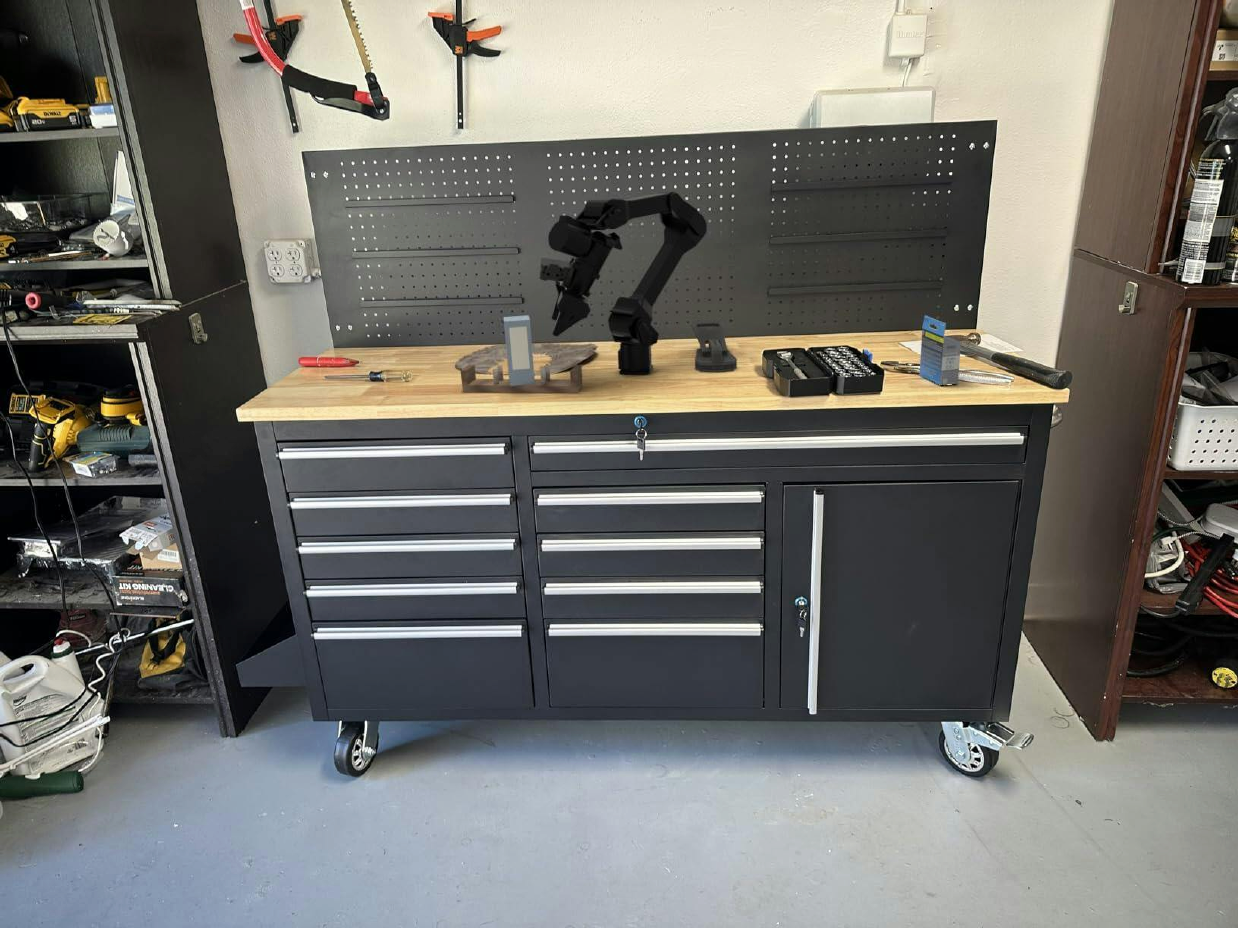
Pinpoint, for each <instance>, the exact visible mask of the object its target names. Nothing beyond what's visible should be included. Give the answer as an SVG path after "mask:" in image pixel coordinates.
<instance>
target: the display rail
mask: <svg viewBox="0 0 1238 928" xmlns="http://www.w3.org/2000/svg"><path fill="white" fill-rule="evenodd" d="M543 366H544V368H545V369H541V368H540V369H541V370H539V371H541V376H540V379H539V378H535V384H529V385H517V386H510V382H509V378H504V375H503V374H504V371H503V365H500V364H499V365H497V366H496V367H497V368H493V369H492V373H493V374H492V376H493V377H492V378H477V374H475V365H468V366H466V367H465V368H464V369H462V370H460V378H461V388H462V393H499V394H500V393H501V394H502V393H504V394H505V393H507V394H509V393H511V394H512V393H514V394H515V393H518V394H519V393H520V394H523V393H524V394H525V393H526V394H529V393H530V394H578V393H579V392H580V390H582V388H583V386H584V385H583V384H584V383H583V382H584V381H583V369H582V368H583V367H582V364H577V365H575V366H573V367H572V369H570V371H569V376H570V378H569V379H567V378H566V379H564V378H563V379H562V378H561V379H560V378H557V379H556V378H555V379H554V378H551V374H550V369H549V366H546V365H543Z"/></svg>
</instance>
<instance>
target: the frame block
mask: <svg viewBox="0 0 1238 928" xmlns="http://www.w3.org/2000/svg"><path fill="white" fill-rule="evenodd" d="M503 326H504V327H503V328H504V338H505V344H506V351H507V359H506V360H507V370H508V373H509V375H508V379H509V382H510V386H517V385H529V384H535V379H536V378H535V376H534V373H535V369H534V368H535V367H534V366H535V365H534V354H533V352H532V343H533V341H532V330H531V329H532V328H531V327H532V326H531V319H530V315H528V314H527V315H526V314H525V315H515V316H512V315H511V316H504V317H503Z"/></svg>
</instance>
